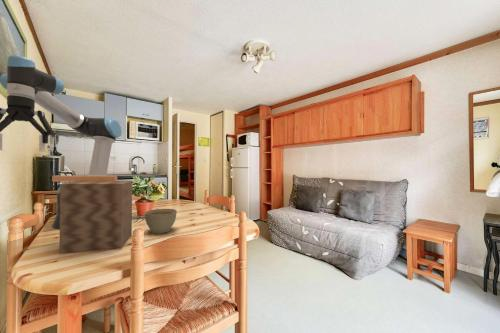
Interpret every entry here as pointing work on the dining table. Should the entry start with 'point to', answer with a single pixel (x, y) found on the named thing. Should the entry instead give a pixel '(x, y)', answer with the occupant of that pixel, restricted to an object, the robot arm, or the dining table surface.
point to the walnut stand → (95, 215)
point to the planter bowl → (160, 220)
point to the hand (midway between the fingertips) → (20, 150)
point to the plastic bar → (83, 178)
